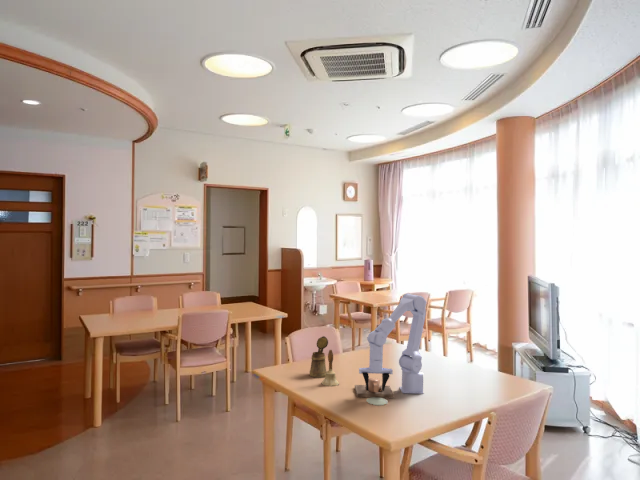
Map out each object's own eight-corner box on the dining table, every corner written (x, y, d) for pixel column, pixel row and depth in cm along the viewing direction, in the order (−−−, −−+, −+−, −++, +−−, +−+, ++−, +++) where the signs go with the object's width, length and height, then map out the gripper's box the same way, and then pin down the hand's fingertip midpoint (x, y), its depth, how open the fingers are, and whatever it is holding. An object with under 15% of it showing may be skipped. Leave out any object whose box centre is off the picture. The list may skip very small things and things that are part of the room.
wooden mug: (331, 371, 234) (332, 336, 234) (324, 378, 221) (325, 342, 221) (315, 369, 236) (316, 335, 236) (306, 376, 223) (307, 340, 224)
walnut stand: (389, 388, 208) (389, 385, 208) (393, 397, 196) (393, 394, 196) (354, 388, 208) (354, 384, 208) (357, 397, 196) (357, 393, 196)
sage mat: (385, 398, 196) (385, 397, 196) (389, 405, 187) (389, 405, 187) (365, 397, 195) (365, 396, 195) (367, 405, 186) (367, 404, 186)
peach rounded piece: (367, 391, 204) (367, 377, 204) (378, 391, 205) (378, 378, 205) (370, 397, 195) (370, 384, 195) (381, 398, 196) (381, 384, 196)
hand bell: (324, 386, 209) (325, 352, 209) (319, 381, 217) (320, 348, 217) (341, 385, 211) (342, 351, 211) (336, 380, 219) (337, 347, 219)
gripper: (390, 357, 202) (390, 387, 202) (358, 356, 201) (357, 386, 201) (393, 361, 195) (392, 392, 195) (360, 360, 194) (359, 391, 194)
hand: (375, 389), depth 198 cm, fingers open, 6 cm apart
